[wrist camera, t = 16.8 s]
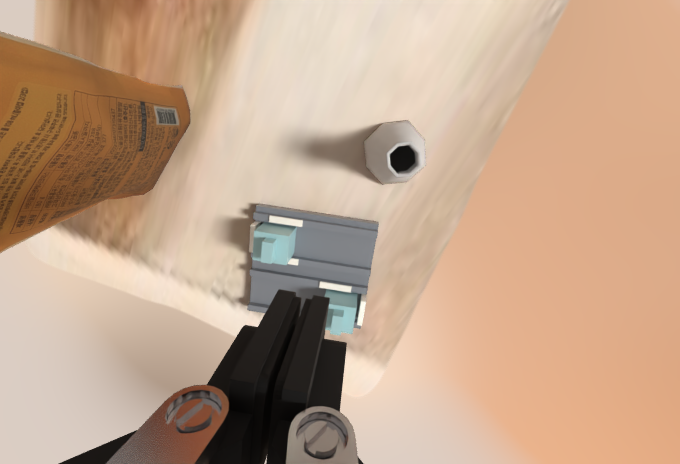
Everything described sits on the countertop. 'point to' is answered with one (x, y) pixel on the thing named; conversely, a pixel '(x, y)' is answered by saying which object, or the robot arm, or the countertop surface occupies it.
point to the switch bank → (315, 257)
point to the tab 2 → (341, 311)
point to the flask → (395, 152)
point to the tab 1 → (274, 243)
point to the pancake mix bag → (76, 136)
